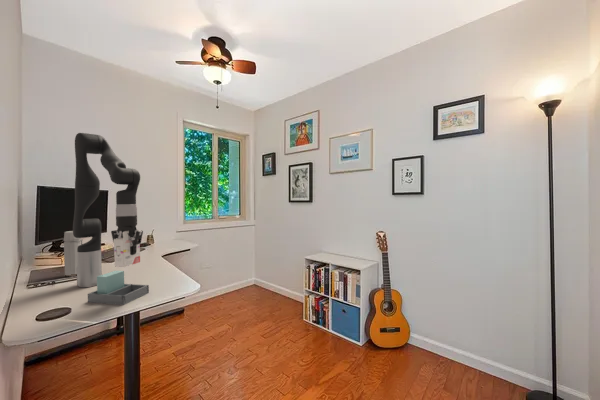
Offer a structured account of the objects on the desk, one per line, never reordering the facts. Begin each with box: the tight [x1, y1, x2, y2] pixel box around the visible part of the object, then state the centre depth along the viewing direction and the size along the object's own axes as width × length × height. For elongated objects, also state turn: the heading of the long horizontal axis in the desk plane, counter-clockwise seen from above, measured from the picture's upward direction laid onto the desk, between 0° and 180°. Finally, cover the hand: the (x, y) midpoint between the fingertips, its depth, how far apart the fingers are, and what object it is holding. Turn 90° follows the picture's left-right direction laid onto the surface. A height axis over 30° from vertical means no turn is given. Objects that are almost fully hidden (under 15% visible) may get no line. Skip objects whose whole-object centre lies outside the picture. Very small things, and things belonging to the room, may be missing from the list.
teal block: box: [96, 270, 125, 294], centre depth 111 cm, size 5×9×10 cm, turn 169°
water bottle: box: [63, 230, 84, 276], centre depth 146 cm, size 9×8×25 cm
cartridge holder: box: [87, 283, 150, 306], centre depth 111 cm, size 17×13×4 cm
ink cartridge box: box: [113, 228, 141, 268], centre depth 110 cm, size 9×5×15 cm, turn 169°
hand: (127, 254), depth 110 cm, fingers closed on ink cartridge box, 5 cm apart
